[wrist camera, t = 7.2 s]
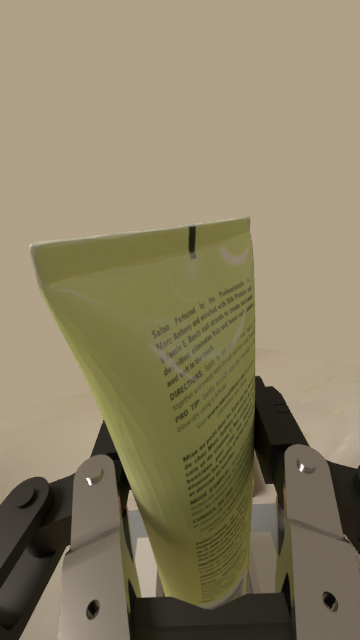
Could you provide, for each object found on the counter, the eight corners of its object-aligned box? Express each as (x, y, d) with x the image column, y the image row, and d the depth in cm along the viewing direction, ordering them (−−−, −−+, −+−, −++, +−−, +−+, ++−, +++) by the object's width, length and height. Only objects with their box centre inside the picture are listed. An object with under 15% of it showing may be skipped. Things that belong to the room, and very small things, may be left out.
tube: (163, 515, 17) (109, 221, 8) (232, 508, 17) (251, 211, 8) (161, 649, 12) (20, 243, 3) (262, 638, 12) (383, 216, 3)
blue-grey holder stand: (62, 797, 12) (26, 799, 10) (116, 518, 23) (105, 488, 21) (389, 791, 12) (429, 793, 9) (288, 509, 22) (295, 478, 20)
